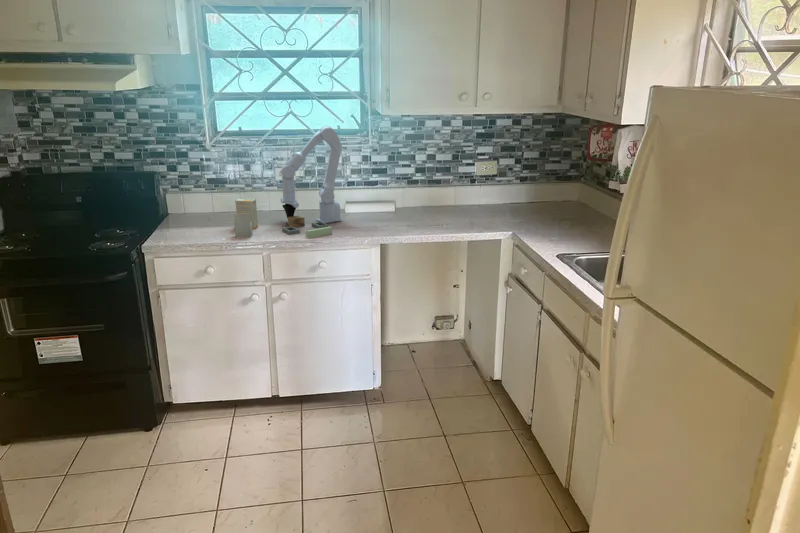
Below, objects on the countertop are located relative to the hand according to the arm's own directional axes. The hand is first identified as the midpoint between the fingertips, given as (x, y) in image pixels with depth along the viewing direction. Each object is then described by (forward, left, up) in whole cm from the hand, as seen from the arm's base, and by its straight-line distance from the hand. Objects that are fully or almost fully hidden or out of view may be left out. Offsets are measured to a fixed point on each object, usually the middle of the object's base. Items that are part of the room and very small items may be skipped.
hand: (290, 219), depth 284 cm
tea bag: (+27, +9, -2) cm, 29 cm away
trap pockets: (0, +20, -1) cm, 20 cm away
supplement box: (+20, -3, -2) cm, 20 cm away
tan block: (0, +6, -2) cm, 6 cm away
